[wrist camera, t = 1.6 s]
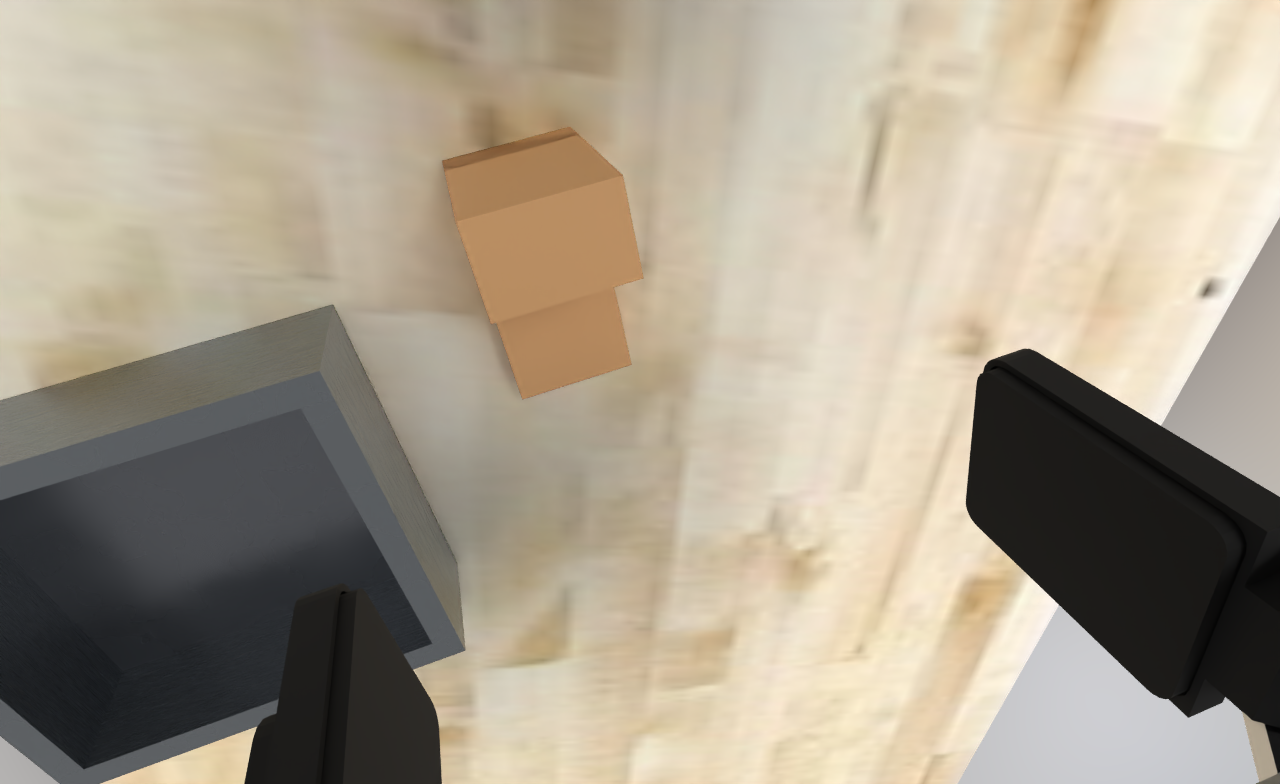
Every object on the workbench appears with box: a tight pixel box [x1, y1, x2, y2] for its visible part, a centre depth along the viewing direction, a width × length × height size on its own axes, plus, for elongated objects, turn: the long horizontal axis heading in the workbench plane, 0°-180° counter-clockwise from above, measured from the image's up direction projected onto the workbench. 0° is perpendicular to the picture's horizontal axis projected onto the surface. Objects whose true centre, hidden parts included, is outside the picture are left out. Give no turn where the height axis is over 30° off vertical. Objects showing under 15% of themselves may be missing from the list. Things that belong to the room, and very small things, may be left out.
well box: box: [0, 305, 465, 784], centre depth 26 cm, size 14×15×5 cm
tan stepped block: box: [442, 127, 643, 399], centre depth 24 cm, size 9×4×7 cm, turn 11°
